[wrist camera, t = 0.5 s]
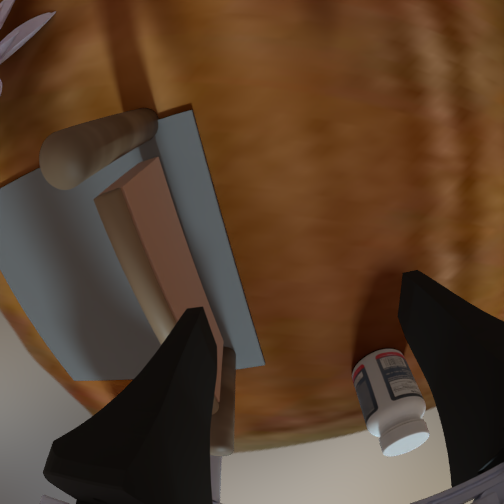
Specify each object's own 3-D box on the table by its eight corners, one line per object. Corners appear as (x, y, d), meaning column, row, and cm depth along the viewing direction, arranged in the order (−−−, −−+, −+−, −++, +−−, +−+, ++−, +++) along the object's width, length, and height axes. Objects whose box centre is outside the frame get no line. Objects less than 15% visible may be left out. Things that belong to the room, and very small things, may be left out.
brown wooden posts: (215, 361, 26) (207, 457, 18) (123, 114, 16) (32, 143, 8) (238, 358, 25) (237, 455, 17) (154, 103, 16) (76, 121, 8)
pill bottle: (365, 390, 28) (387, 464, 21) (341, 368, 26) (363, 453, 19) (410, 363, 27) (442, 436, 19) (391, 337, 25) (428, 420, 17)
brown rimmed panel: (223, 341, 23) (218, 414, 17) (208, 343, 23) (200, 416, 18) (158, 156, 17) (113, 194, 11) (139, 162, 17) (88, 203, 11)
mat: (75, 378, 27) (74, 380, 27) (-27, 204, 18) (-29, 205, 18) (264, 362, 26) (265, 364, 25) (192, 109, 16) (191, 109, 16)
